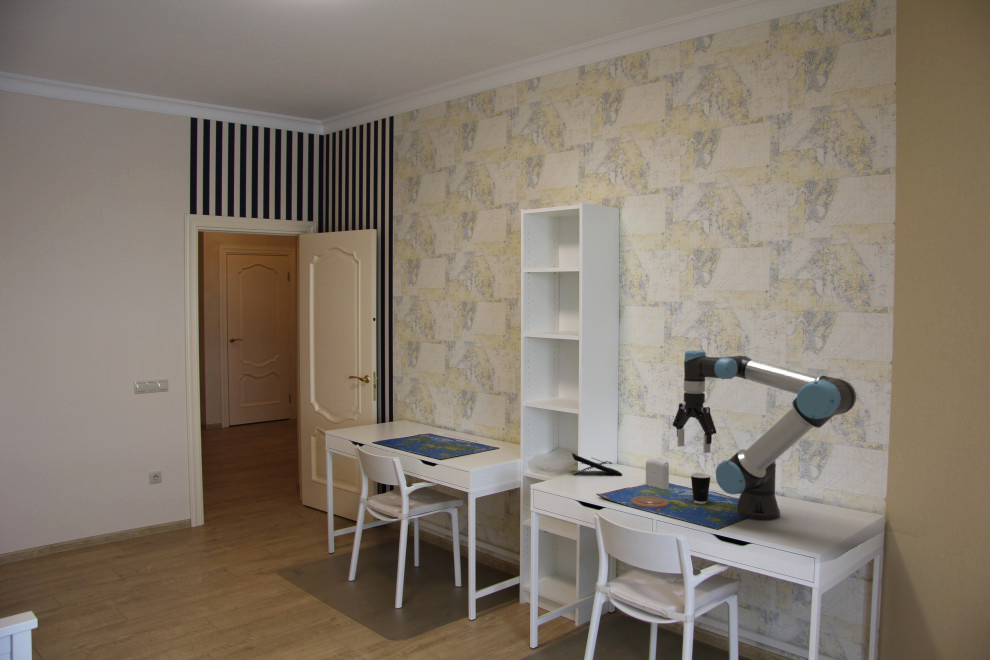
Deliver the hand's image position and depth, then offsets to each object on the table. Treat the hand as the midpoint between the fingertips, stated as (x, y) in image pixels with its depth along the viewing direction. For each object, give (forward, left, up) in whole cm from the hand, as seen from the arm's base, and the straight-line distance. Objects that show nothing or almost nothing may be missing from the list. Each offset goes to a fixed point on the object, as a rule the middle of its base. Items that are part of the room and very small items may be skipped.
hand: (693, 449), depth 270 cm
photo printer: (+33, -11, -23) cm, 41 cm away
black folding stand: (+64, -3, -23) cm, 68 cm away
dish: (+15, +8, -23) cm, 28 cm away
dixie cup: (+7, -10, -23) cm, 26 cm away
